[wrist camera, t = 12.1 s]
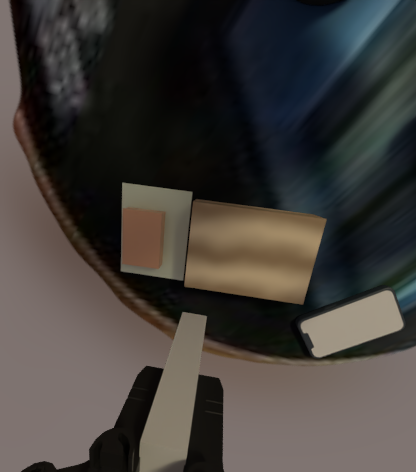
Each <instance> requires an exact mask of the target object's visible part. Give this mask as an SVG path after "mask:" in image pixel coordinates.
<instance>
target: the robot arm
mask: <svg viewBox="0 0 416 472" xmlns="http://www.w3.org/2000/svg"><path fill="white" fill-rule="evenodd" d="M297 1H299V2H302V3H306V4H311V5H324V4H330V3H334V2H337V1H340V0H297ZM206 318H207V316H203V315H197V314H191V313H185V312H183V313H182V316H181V319H180V322H179V325H178V328H177V331H176V334H175V337H174V340H173V344H172V346H171V349H170V352H169V356H168V359H167V362H166V365H165V368H164V369H162V368H156V367H151V366H146V367H145V368H144V369H143V370H142V371H141V372H140V373H139V374H138V376H137V377H136V380H135V382H134V384H133V386H132V389H131V391H130V393H129V395H128V398H127V400H126V402H125V404H124V406H123V408H122V410H121V413H120V415H119V417H118V419H117V421H116V424H115V426H114V428H112V429H110V430H107V431H105V432H104V433H102V434H101V435H100V436H99V437H98V438H97V439H96V440H95V441H94V443H93V444H92V446H91V447H90V449H89V457H90V460H88V461H87V462H85V463H82V464H79V465H75V466H71V467H66V468H62V469H58V470H57V469H56V468H55V467H54V465H53V464H52V463H49V462H45V461H43V462H39V463H34V464H33V465H31V466H29V467H27V468H26V469H24V470H22V471H21V472H224V470H223V462H222V456H223V453H222V452H223V388H222V385H221V382H220V380H219V378H215V377H209V376H204V375H199V368H200V361H201V353H202V346H203V339H204V332H205V325H206Z"/></svg>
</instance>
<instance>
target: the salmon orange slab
mask: <svg viewBox="0 0 416 472" xmlns="http://www.w3.org/2000/svg"><path fill="white" fill-rule="evenodd" d="M165 213H166V212H164V211H156V210H148V209H140V208H133V207H127V208H123V237H122V264H126V265H133V266H141V267H148V268H155V269H159V268H160V267H161V265H162V261H163V245H164V229H165Z"/></svg>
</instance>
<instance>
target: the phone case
mask: <svg viewBox="0 0 416 472" xmlns="http://www.w3.org/2000/svg"><path fill="white" fill-rule="evenodd" d="M295 323H296V326H297V328H298V330H299V332H300V334H301V336H302V338H303V340H304V342H305V345H306V347H307V349H308V351H309V353H310V355H311V356H312V357H314V358H322V357H325V356H328V355H331V354H334V353H336V352H339V351H342V350H345V349H348V348H351V347H354V346H357V345H360V344H363V343H366V342H369V341H372V340H375V339H377V338H380V337H383V336H386V335H389V334H392V333H395V332H398V331H401V330H402V329H403V328H404V327H405V320H404V317H403V314H402V311H401V308H400V306H399V303H398V300H397V297H396V294H395V291H394V290H393V289H392V288H390V287H389V286H386V285H381V286H378V287H376V288H373V289H370V290H367V291H365V292H362V293H359V294H356V295H354V296H351V297H348V298H346V299H343V300H340V301H338V302H335V303H332V304H329V305H327V306H324V307H321V308H319V309H316V310H313V311H311V312H308V313H305V314H303V315H300V316H298V317H297V319H296V321H295Z"/></svg>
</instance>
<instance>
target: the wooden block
mask: <svg viewBox="0 0 416 472" xmlns="http://www.w3.org/2000/svg"><path fill="white" fill-rule="evenodd" d="M326 220H327V219H324V218H322V217H319V216H316V215H312V214H305V213H297V212H290V211H282V210H275V209H267V208H260V207H252V206H245V205H237V204H230V203H222V202H214V201H207V200H199V199H196V200H195V201H193V207H192V217H191V226H190V236H189V245H188V255H187V264H186V274H185V284H184V287H191V288H197V289H204V290H210V291H217V292H223V293H230V294H237V295H243V296H250V297H256V298H263V299H270V300H276V301H283V302H289V303H296V304H302V305H303V303H304V299H305V295H306V292H307V288H308V285H309V281H310V277H311V274H312V270H313V266H314V263H315V259H316V256H317V252H318V248H319V245H320V241H321V238H322V234H323V230H324V227H325V223H326Z"/></svg>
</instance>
